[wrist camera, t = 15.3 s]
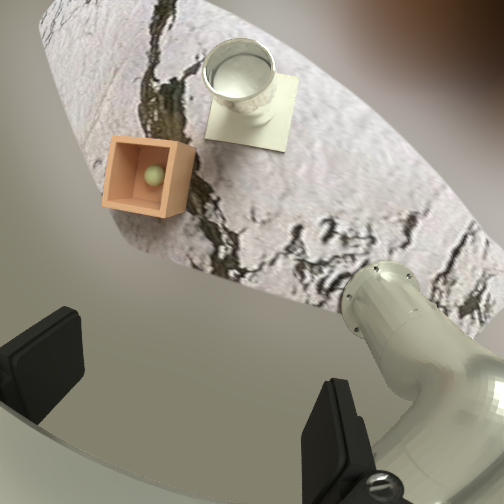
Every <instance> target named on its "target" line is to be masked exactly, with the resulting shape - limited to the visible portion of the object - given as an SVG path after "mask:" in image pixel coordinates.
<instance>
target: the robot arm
mask: <svg viewBox="0 0 504 504" xmlns="http://www.w3.org/2000/svg"><path fill="white" fill-rule="evenodd" d="M375 266H376V268H375V269H373V268H374V267H375ZM407 274H408V276H407ZM348 294H350V295H349V296H347V295H348ZM341 311H342V315H343V319H344V321H345V323H346V325H347V326H348V328H349V329H350V331H351V332H352V333H353V334H355V335H356V336H358V337H360V338H362V339H365V340H366V342H367V344H368V346H369V348H370V350H371V352H372V355H373V357H374V359H375V361H376V363H377V365H378V367H379V369H380V372H381V374H382V376H383V378H384V380H385V382H386V384H387V386H388V387H389V389H390V390H391V391H392V392H393V393H394V394H395V395H397V396H399V397H400V398H402V399H404V400H408V401H411V402H413V404H412V405H411V406H410V408H409V409H408V410H407V411H406V412H405V413H404V414H403V415H402V416H401V417H400V419H399V420H398V421H397V422H396V423H395V424H394V425H393V426H392V427H391V428H390V429H389V430H388V431H387V432H386V433H385V434H384V435H383V436H382V437H381V438H380V439H379V440H378V441H377V442H376V443H375V444H373V445H372V446H370V442H369V439H368V435H367V431H366V427H365V424H364V420H363V418H362V417H361V416H357V413H356V409H355V405H354V402H353V398H352V394H351V391H350V387H349V384H348V381H347V380H343V379H337V378H331V379H330V381H325V382H324V384H323V386H322V389H321V391H320V394H319V396H318V398H317V401H316V403H315V405H314V407H313V410H312V412H311V414H310V416H309V419H308V421H307V423H306V425H305V428H304V430H303V432H302V436H301V455H302V504H504V360H503V359H502V358H500V357H498V356H497V355H495V354H494V353H492V352H491V351H489V350H487V349H486V348H484V347H483V346H481V345H480V344H478V343H477V342H475V341H474V340H473V339H472V338H470V337H469V336H468V335H467V334H465V333H464V332H463V331H462V330H461V329H460V328H459V327H458V326H456V325H455V324H454V323H453V322H452V321H451V320H450V319H449V318H448V317H447V316H446V315H444V314H443V313H442V312H441V311H440V310H439V309H438V308H437V305H436V304H434V303H431V302H430V301H429V300H428V299H427V298H426V297H425V296H423V295H422V294H421V293H420V286H419V283H418V280H417V278H416V277H415V275H414V274H413V273H412V272H411V271H410V270H409V269H408V268H407V267H406V266H404V265H403V264H400V263H398V262H395V261H391V260H381V261H376V262H373V263H370V264H368V265H366V266H364V267H363V268H361V269H360V270H359V271H358V272H356V273H355V274H354V275H353V277H352V278H351V279H350V280H349V282H348V284H347V285H346V287H345V289H344V292H343V295H342V301H341ZM356 327H357V328H356ZM84 372H85V368H84V358H83V346H82V331H81V317H80V316H79V315H78V312H77V311H76V310H74V309H71V308H69V307H66V306H63V307H61V308H60V309H58V310H56V311H55V312H53V313H52V314H50V315H49V316H47V317H46V318H44V319H42V320H41V321H40V322H38V323H36V324H35V325H33V326H32V327H30V328H29V329H27V330H26V331H24V332H23V333H21V334H20V335H18V336H17V337H15V338H14V339H12V340H11V341H9V342H8V343H6V344H5V345H3V346H2V347H0V504H245V503H240V502H235V501H229V500H225V499H220V498H215V497H211V496H207V495H203V494H199V493H195V492H191V491H188V490H184V489H181V488H177V487H174V486H170V485H168V484H164V483H161V482H158V481H155V480H152V479H149V478H147V477H144V476H141V475H138V474H136V473H133V472H131V471H128V470H125V469H123V468H120V467H118V466H116V465H113V464H111V463H109V462H106V461H104V460H102V459H100V458H97V457H95V456H93V455H91V454H89V453H87V452H85V451H83V450H80V449H79V448H77V447H75V446H73V445H71V444H69V443H67V442H66V441H64V440H62V439H60V438H58V437H56V436H54V435H53V434H51V433H49V432H48V431H46V430H44V429H43V428H41V427H39V426H38V424H39V423H40V422H41V421H42V420H43V419H44V418H45V417H46V416H47V415H48V414H49V413H50V411H51V410H52V409H53V408H54V407H55V406H56V405H57V404H58V403H59V402H60V401H61V400H62V399H63V398H64V396H65V395H66V394H67V393H68V392H69V391H70V390H71V389H72V388H73V387H74V386H75V385H76V384H77V383H78V382H79V381H80V380H81V378H82V377H83V375H84Z"/></svg>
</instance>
